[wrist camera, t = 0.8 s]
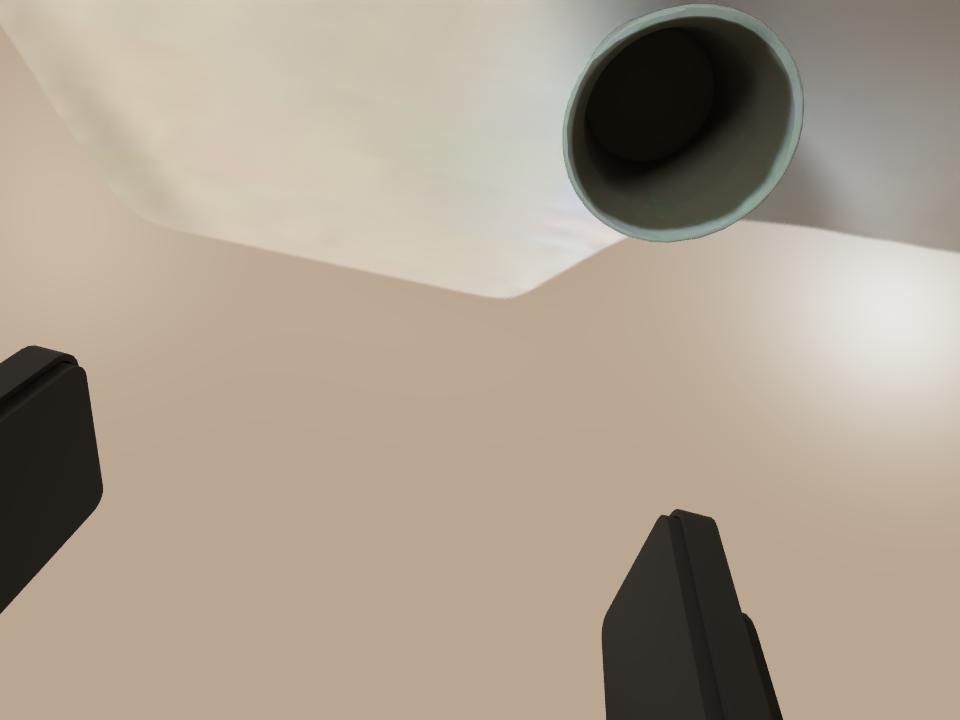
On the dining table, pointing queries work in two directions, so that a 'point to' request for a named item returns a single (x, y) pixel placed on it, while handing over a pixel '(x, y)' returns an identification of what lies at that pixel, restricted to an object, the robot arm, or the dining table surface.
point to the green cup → (682, 122)
